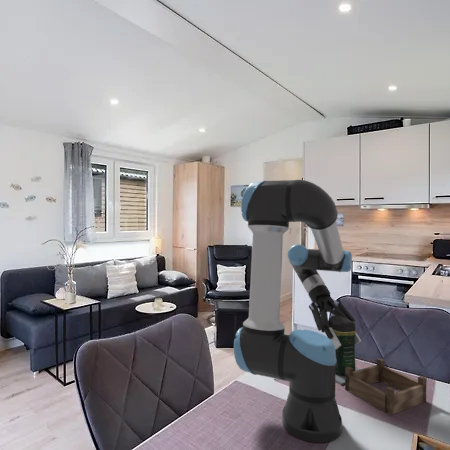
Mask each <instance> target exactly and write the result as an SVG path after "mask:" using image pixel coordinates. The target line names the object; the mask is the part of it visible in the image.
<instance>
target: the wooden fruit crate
mask: <svg viewBox="0 0 450 450" xmlns="http://www.w3.org/2000/svg"><path fill="white" fill-rule="evenodd" d="M359 369H360V370H357V371H353V368H351V367H345V384H344V389H345V391H347V392H348V393H351V394H352V395H354V396H356V397H357V398H359V399H361V400H362V401H365V403H368V404H370V405H371V406H373V407H374V408H377V409H378V410H380V411H381V412H383V413H385V414H387V415H388V416H392V415H394V414H397V413H400V412H402V411H406V410H408V409H411V408H414V407H416V406H418V405H420V404H424V403H427V383H428V380H427V377H425V376H423V375H419V376H418V377H417V380H416V379H414V378H412V377H410V376H407V375H406V374H403V373H401V372H399V371H397V370H394V369H392V368H389V367H387V366H385V359H382V357H380V358H376V364H375V365H372V366H369V367H365V368H359ZM376 382H383V383H384V384H386V385H388V386H385V387H384V391H383V390H381V389H379V388H377V387H375V386H373V385H371V384H374V383H376ZM395 389H396V390H398V391H397V392H395Z"/></svg>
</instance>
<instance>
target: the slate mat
mask: <svg viewBox="0 0 450 450" xmlns="http://www.w3.org/2000/svg"><path fill="white" fill-rule="evenodd" d="M360 369H361V368H359V367H357V366H355V371H357V370H360ZM335 383H336V384H339V385H340V386H345V375H339V374H336V373H335Z"/></svg>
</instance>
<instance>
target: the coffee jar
mask: <svg viewBox="0 0 450 450" xmlns="http://www.w3.org/2000/svg"><path fill="white" fill-rule="evenodd" d="M328 323H329V328H332V329H333V331H334V333H335V335H336V336H337V338H338V340H339V342H340V344H341V346H340V347H339V348H338V349H335V352H336V360H337V361H336V372H335V373H336V374H339V375H345V367H351V368H353V371H355V367H356V349H355V346H356V345H355V333H356V331H357V328H356V327H357V326H356V323H355V322H352V321H350V320H348V319H346V318H344V317H342V316H335V315H331V316H330V317H328Z"/></svg>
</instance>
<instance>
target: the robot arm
mask: <svg viewBox="0 0 450 450" xmlns="http://www.w3.org/2000/svg"><path fill="white" fill-rule="evenodd" d="M240 203H241V205H240V207H241V208H240V209H241V216H242V217H241V218H242V219H243V220H244V221H245V222H248V223H247V227H248V229H249V230H250V232H252V243H251V245H252V246H251V263H250V284H249V285H250V286H249V303H248V305H249V306H248V307H249V308H248V318H247V319H245V320H244V321H243V322H242V327H239V329H238V330H237V331H236V333H235V338H234V340H233V355H234V359H235V363H236V365H237V366H238V368H239V369H240V370H242V371H243V372H246V373H250V374H252V375H255V376H256V375H258V376H263V377H266V378H271V379H276V380H281V381H285V382H289V384H288V385H289V392H288V395H287V399H286V401H285V405H284V407H283V409H282V418H281V421H282V425H283V427H284V429H285V430H286V431H287V432H288V433H289V434H291V435H292V436H294V437H295V438H298V439H299V440H303V441H307V442H309V443H310V442H312V443H329V442H332V441H335V440H336V439H338V438H339V437H340V436H341V434H342V433H343V420H342V419H343V418H342V416H341V414H340V410H339V406H338V403H337V399H336V382H335V372H336V361H337V360H336V352H335V349H338V348H339V347H340V346H341V344H340V342H339V340H338V338H337V336H336V335H335V333H334V331H333V329H332V328H329V323H328V320H329V317H328V313H330V314H332V315H333V316H342V317H344V318H346V319H348V320H350V321H352V322H354V323H355V322H356V319H355V317H353V315H351V313H350V312H349V311H348V309H347V308H346V307H345V305H343V303H342V301H341V299H339V298H337V299H333V297H331V292H330V290H329V288H328V287H327V285H326V283H325V281H324V280H323V278H322V277H321V275H320V273H319V272H318V271H324V272H336V273H337V272H339V273H342V272H343V273H349V272H351V271H352V267H353V266H352V265H353V260H352V259H353V255H352V251H349V250H344V247H343V244H342V240H341V237H340V236H341V235H340V232H339V228H338V224H337V219H338V209H337V206H336V203H335V202H334V199H332V197H331V196H330V195H329V193H327V191H325V190H324V189H323V188H322V187H320V185H317V184H315V183H313V182H312V181H308V180H304V179H289V180H286V179H283V180H262V181H254V182H251V183H249V185H247V187H246V188H245V190H244V193H243V195H242V198H241V202H240ZM297 222H298V223H300V222H301V223H305V225H306V226H307V227H308V228H309V229H310V230H311V232H312V235H313V237H314V240H315V242H316V245H317V247H318V249H314V248H313V249H311V248H307V247H305V245H302V244H299V243H297V244H294V245H292V246H291V247H290V248H289V249H288V251H287V258H288V261H289V264H291V266H292V268H293V270H294V272H295V273H296V275H297V277H298V278H299V280H300V282H301V284H302V286H303V287H304V289H305V291H306V293H307V295H308V297H309V298H310V301H311V303H310V304H309V305H308V308H309V309H310V311H311V313H312V317H313V320H314V322H315V326H316V329H317V330H318V331H321V332H322V333H325V334H322V333H320V332H317V331H314V330H311V329H309V330H308V329H294V330H292V331H291V332H290V333H289V334H286V333H285V331H286V330H285V328H286V327H285V324H283V322H282V321H281V320H280V311H281V310H280V309H281V293H282V292H281V290H282V287H281V286H282V268H283V267H282V265H283V243H284V234H285V233H286V232H287V231H288V230H289V228H290V223H297ZM361 342H362V340H361V338H360V336H359V334H358V332H357V330H356V333H355V346H357V345H359V343H361Z"/></svg>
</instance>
